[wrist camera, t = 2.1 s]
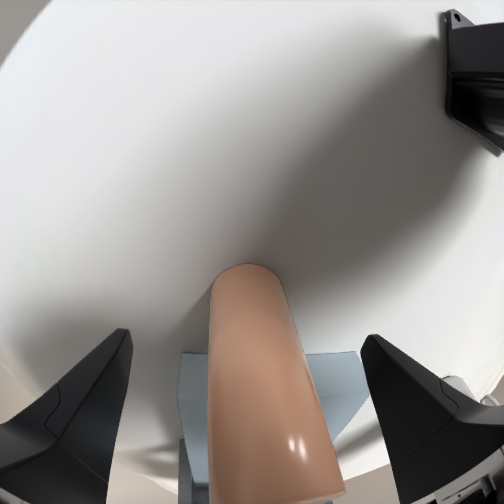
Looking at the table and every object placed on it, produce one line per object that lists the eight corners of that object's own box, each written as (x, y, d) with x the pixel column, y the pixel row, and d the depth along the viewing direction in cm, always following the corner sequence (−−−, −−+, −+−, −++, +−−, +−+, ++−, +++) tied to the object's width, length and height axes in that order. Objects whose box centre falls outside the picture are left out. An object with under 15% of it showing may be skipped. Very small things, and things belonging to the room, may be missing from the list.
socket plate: (355, 351, 15) (374, 389, 12) (287, 460, 23) (291, 483, 20) (182, 352, 13) (177, 398, 11) (195, 463, 22) (195, 486, 19)
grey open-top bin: (315, 435, 20) (337, 522, 12) (294, 462, 24) (308, 530, 15) (180, 439, 19) (178, 536, 10) (186, 465, 22) (187, 537, 14)
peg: (288, 266, 12) (369, 479, 4) (275, 323, 13) (320, 506, 5) (212, 261, 11) (209, 501, 3) (209, 320, 13) (210, 516, 5)
